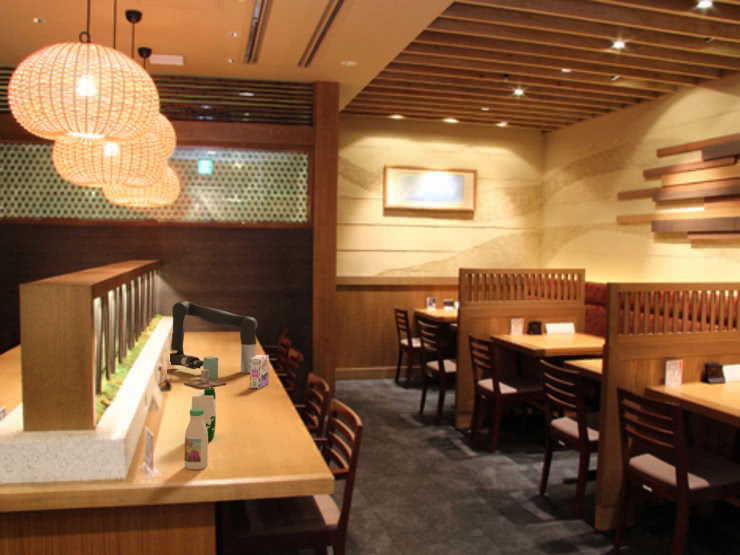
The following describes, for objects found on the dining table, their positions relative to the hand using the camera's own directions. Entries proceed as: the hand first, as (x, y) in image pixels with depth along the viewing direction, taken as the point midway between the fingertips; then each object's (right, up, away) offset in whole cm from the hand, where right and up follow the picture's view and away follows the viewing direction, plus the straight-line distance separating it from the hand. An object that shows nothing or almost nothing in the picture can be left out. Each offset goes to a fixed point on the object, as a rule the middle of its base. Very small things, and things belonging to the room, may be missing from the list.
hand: (206, 365), depth 366 cm
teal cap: (+3, -7, -3) cm, 8 cm away
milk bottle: (+35, -15, -148) cm, 152 cm away
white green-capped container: (+29, -13, -116) cm, 120 cm away
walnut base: (+4, -8, -19) cm, 21 cm away
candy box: (+34, -9, -20) cm, 41 cm away
